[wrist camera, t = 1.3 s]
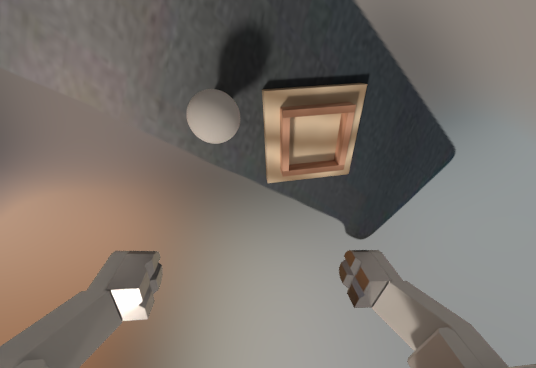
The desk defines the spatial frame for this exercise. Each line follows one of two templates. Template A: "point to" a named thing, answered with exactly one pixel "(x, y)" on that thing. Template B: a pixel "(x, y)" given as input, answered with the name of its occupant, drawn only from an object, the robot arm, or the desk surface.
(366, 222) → the desk surface
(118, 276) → the robot arm
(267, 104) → the docking base
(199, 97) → the light bulb
